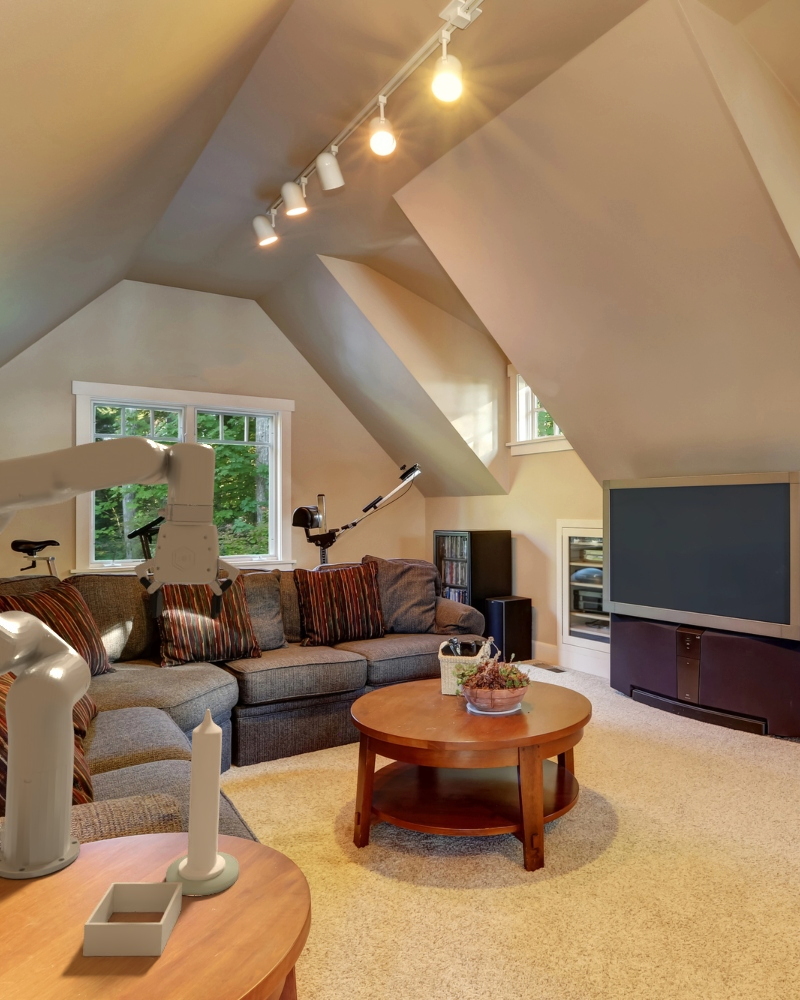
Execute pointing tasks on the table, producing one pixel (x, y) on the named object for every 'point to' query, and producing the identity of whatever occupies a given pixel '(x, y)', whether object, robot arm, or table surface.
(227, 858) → the pale green dome
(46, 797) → the robot arm
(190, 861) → the candle
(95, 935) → the tray
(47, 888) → the table surface
